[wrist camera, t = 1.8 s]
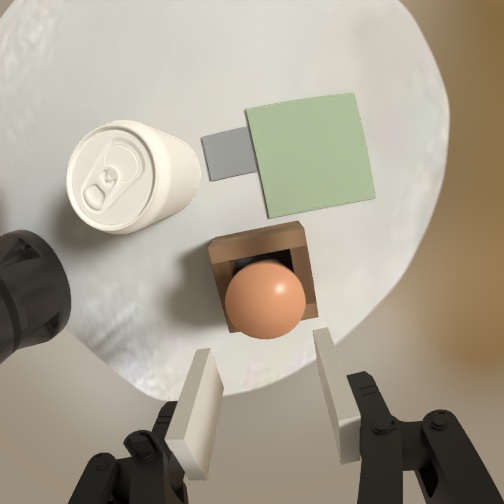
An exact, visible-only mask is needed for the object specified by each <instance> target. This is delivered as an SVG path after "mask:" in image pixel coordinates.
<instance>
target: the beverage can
mask: <svg viewBox="0 0 504 504" xmlns="http://www.w3.org/2000/svg"><path fill="white" fill-rule="evenodd" d="M200 178H201V171H200V165H199V161H198V158H197V156H196V154H195V153H194V151H193V150H192V148H191V147H190V146H189V145H188V144H186V143H185V142H184V141H182V140H180V139H178V138H176V137H174V136H171V135H169V134H167V133H164V132H162V131H159V130H157V129H154V128H152V127H150V126H147V125H145V124H142V123H139V122H136V121H132V120H116V121H112V122H108V123H106V124H104V125H101V126H100V127H98V128H96V129H94V130H92V131H91V132H89V133H88V134H87V135H85V136H84V137H83V138H82V139H81V140H80V142H79V143H78V144H77V146H76V147H75V149H74V150H73V152H72V154H71V157H70V159H69V162H68V166H67V172H66V188H67V194H68V197H69V200H70V203H71V205H72V207H73V209H74V211H75V212H76V213H77V215H78V216H79V217H80V218H81V219H82V220H83V221H84V222H85V223H87V224H88V225H90V226H91V227H93V228H96V229H98V230H100V231H103V232H106V233H110V234H128V233H132V232H135V231H138V230H140V229H142V228H144V227H146V226H149V225H151V224H153V223H155V222H157V221H160V220H162V219H164V218H166V217H168V216H171V215H173V214H175V213H177V212H179V211H181V210H182V209H184V208H185V207H186V206H187V205H188V204H189V203H190V202H191V201H192V200H193V198H194V197H195V195H196V193H197V191H198V188H199V184H200Z"/></svg>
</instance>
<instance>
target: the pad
mask: <svg viewBox="0 0 504 504" xmlns="http://www.w3.org/2000/svg"><path fill="white" fill-rule="evenodd" d="M246 112H247V116H248V121H249V125H250V129H251V134H252V138H253V143H254V147H255V152H256V156H257V161H258V166H259V170H260V175H261V179H262V184H263V189H264V194H265V198H266V203H267V208H268V213H269V217H270V218H274V217H279V216H284V215H289V214H294V213H299V212H304V211H309V210H314V209H320V208H325V207H330V206H336V205H341V204H346V203H352V202H357V201H363V200H369V199H374V198H376V196H375V190H374V184H373V178H372V172H371V167H370V161H369V156H368V151H367V146H366V141H365V137H364V132H363V128H362V123H361V119H360V115H359V111H358V107H357V103H356V99H355V95H354V93H346V94H337V95H328V96H320V97H313V98H306V99H299V100H293V101H287V102H281V103H275V104H270V105H264V106H259V107H254V108H249V109H246Z"/></svg>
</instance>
